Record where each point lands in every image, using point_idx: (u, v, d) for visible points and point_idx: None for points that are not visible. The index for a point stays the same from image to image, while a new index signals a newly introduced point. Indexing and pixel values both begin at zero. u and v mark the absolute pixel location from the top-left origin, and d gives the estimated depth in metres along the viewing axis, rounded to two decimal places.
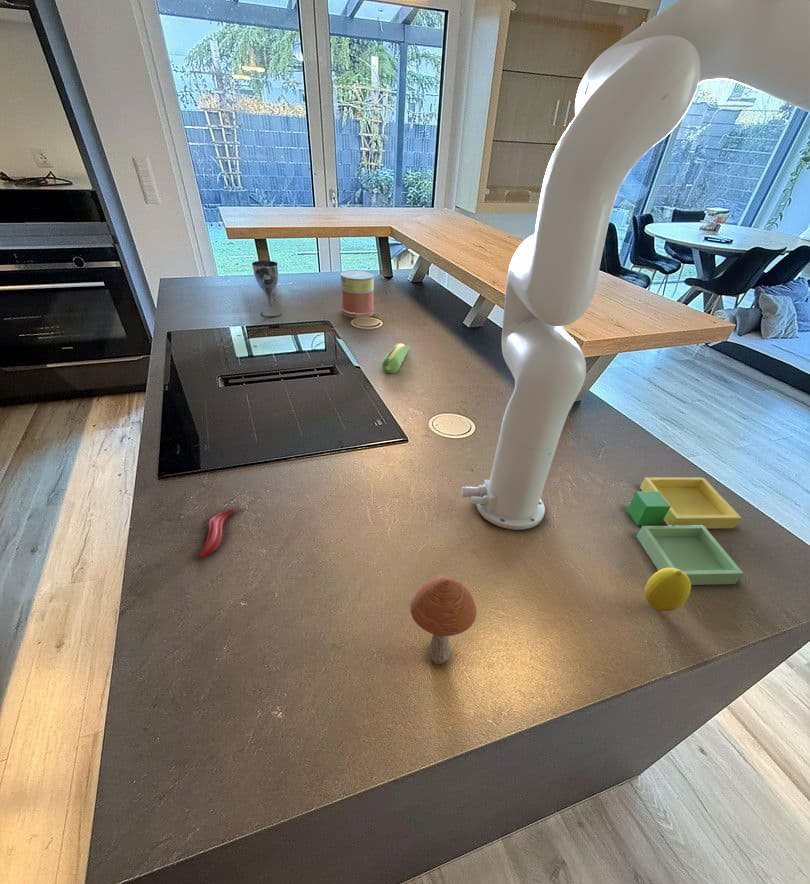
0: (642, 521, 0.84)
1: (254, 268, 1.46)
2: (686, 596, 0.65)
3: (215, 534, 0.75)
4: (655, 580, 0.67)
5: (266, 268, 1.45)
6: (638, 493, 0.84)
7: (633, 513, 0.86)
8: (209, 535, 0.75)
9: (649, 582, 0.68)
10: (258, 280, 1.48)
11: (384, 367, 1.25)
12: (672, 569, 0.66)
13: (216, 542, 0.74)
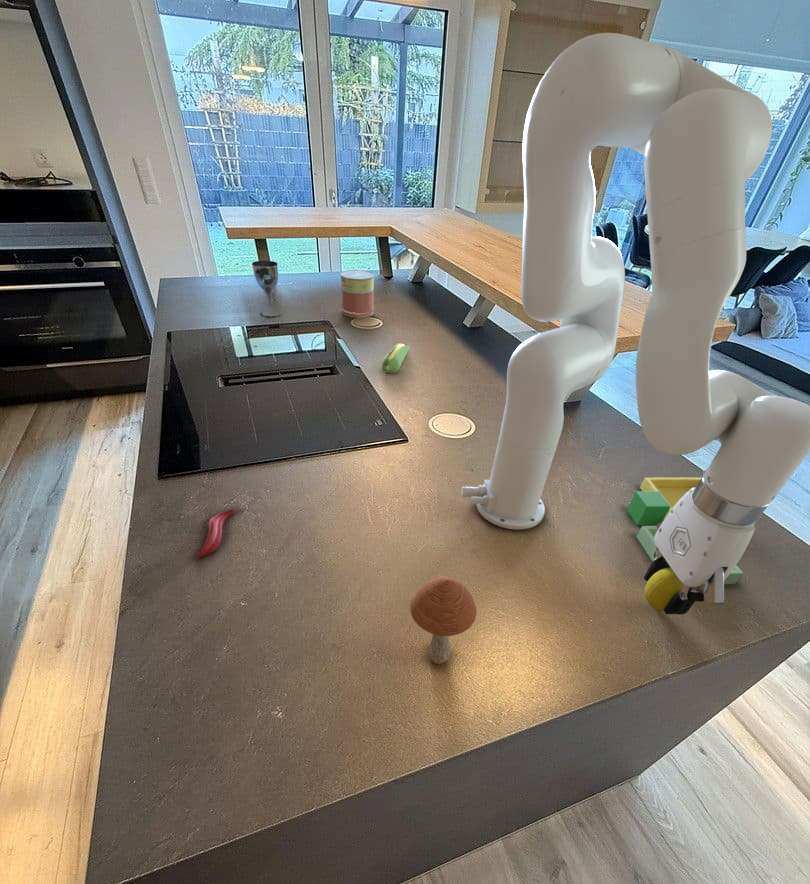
0: (642, 521, 0.84)
1: (254, 268, 1.46)
2: None
3: (215, 534, 0.75)
4: (655, 580, 0.67)
5: (266, 268, 1.45)
6: (638, 493, 0.84)
7: (633, 513, 0.86)
8: (209, 535, 0.75)
9: (649, 582, 0.68)
10: (258, 280, 1.48)
11: (384, 367, 1.25)
12: None
13: (216, 542, 0.74)
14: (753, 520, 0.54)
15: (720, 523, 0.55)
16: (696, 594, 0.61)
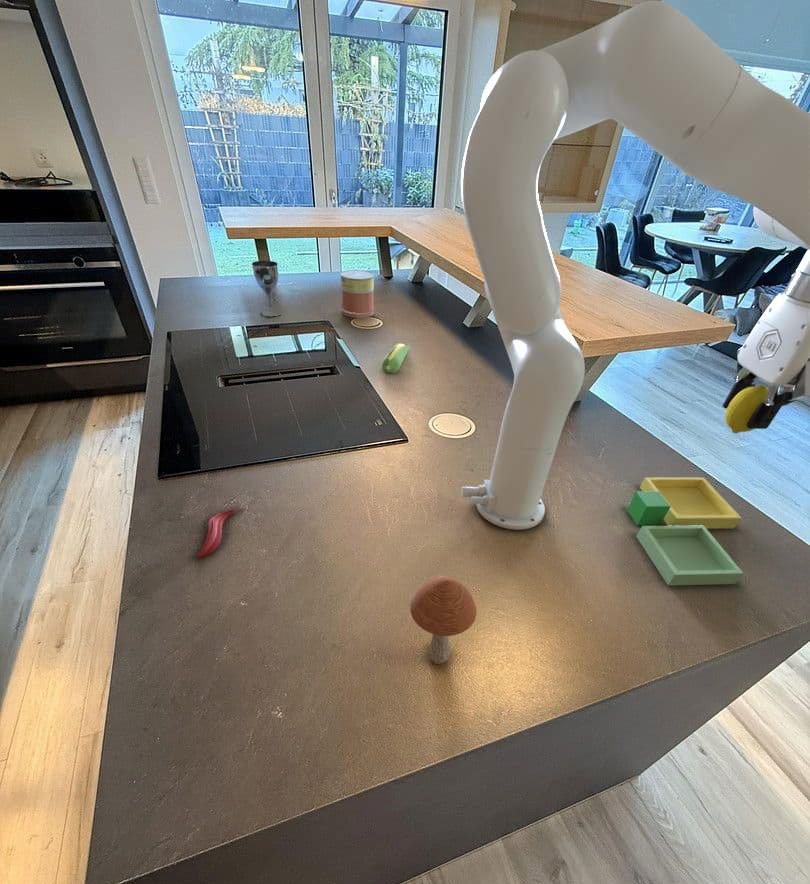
0: (642, 521, 0.84)
1: (254, 268, 1.46)
2: None
3: (215, 534, 0.75)
4: (738, 397, 0.70)
5: (266, 268, 1.45)
6: (638, 493, 0.84)
7: (633, 513, 0.86)
8: (209, 535, 0.75)
9: (731, 403, 0.72)
10: (258, 280, 1.48)
11: (384, 367, 1.25)
12: (755, 386, 0.70)
13: (215, 542, 0.74)
14: None
15: None
16: (784, 394, 0.64)
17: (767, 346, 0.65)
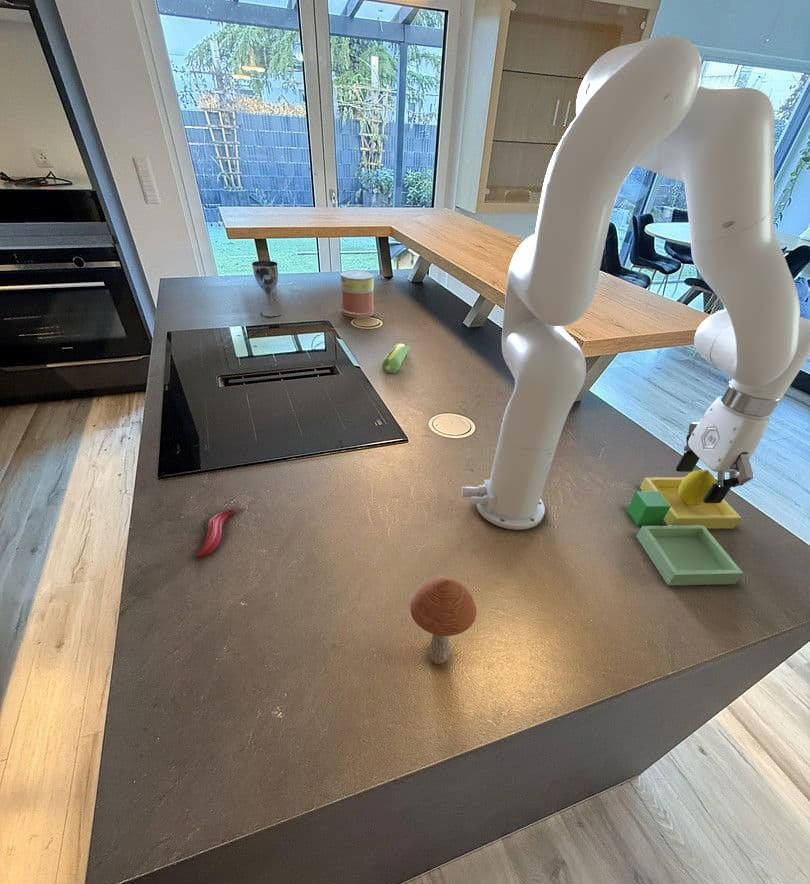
0: (642, 521, 0.84)
1: (254, 268, 1.46)
2: None
3: (214, 534, 0.75)
4: (687, 479, 0.85)
5: (266, 268, 1.45)
6: (638, 493, 0.84)
7: (633, 513, 0.86)
8: (208, 535, 0.75)
9: (682, 482, 0.87)
10: (258, 280, 1.48)
11: (384, 367, 1.25)
12: (701, 470, 0.85)
13: (215, 542, 0.74)
14: (768, 412, 0.72)
15: (743, 415, 0.73)
16: (731, 479, 0.77)
17: (709, 439, 0.79)
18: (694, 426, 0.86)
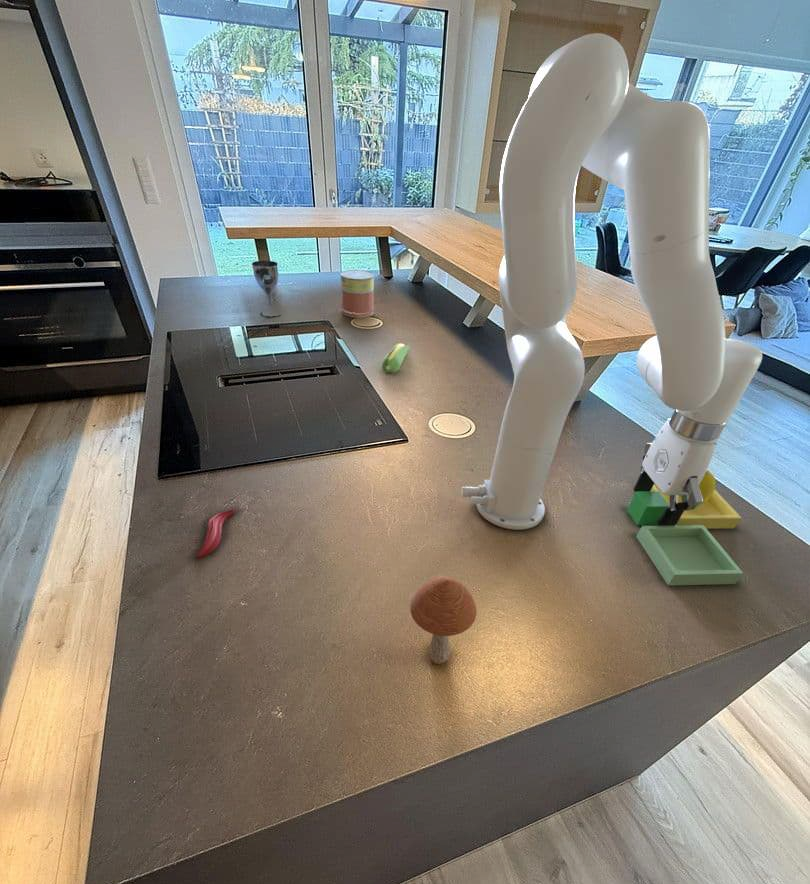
0: (642, 521, 0.84)
1: (254, 268, 1.46)
2: (712, 490, 0.84)
3: (214, 534, 0.75)
4: None
5: (266, 268, 1.45)
6: (638, 493, 0.84)
7: (633, 513, 0.86)
8: (208, 535, 0.75)
9: None
10: (258, 280, 1.48)
11: (384, 367, 1.25)
12: None
13: (215, 542, 0.74)
14: (714, 436, 0.71)
15: (689, 440, 0.72)
16: (682, 503, 0.75)
17: (660, 462, 0.78)
18: (649, 447, 0.84)
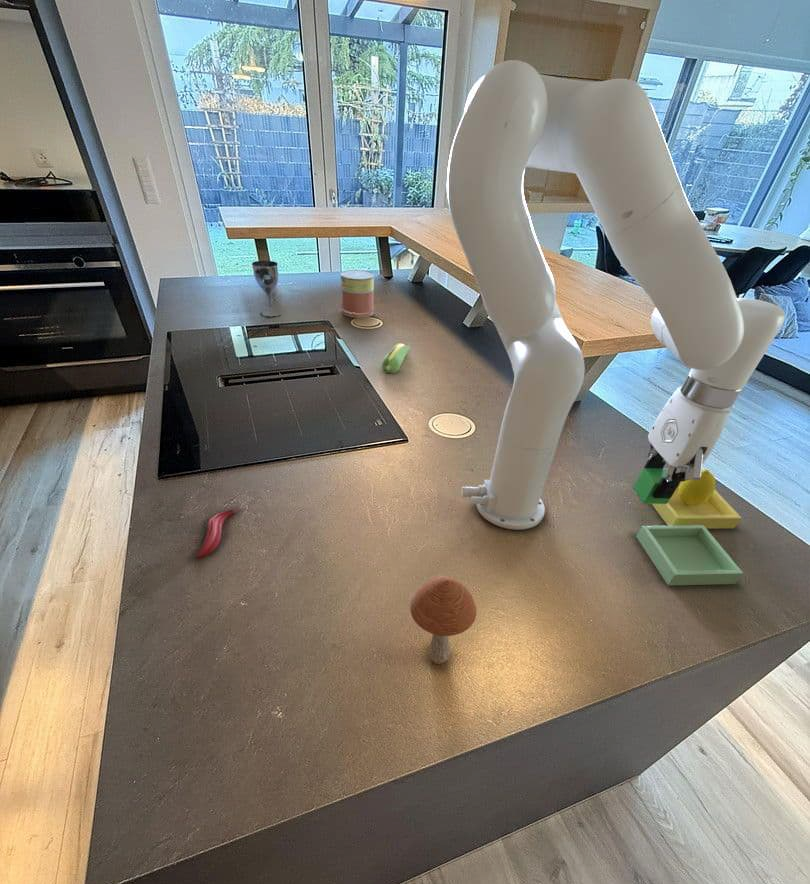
0: (649, 499, 0.81)
1: (254, 268, 1.46)
2: (712, 490, 0.84)
3: (214, 534, 0.75)
4: None
5: (266, 268, 1.45)
6: (646, 469, 0.81)
7: (640, 490, 0.82)
8: (208, 535, 0.75)
9: (682, 482, 0.87)
10: (258, 280, 1.48)
11: (384, 367, 1.25)
12: (701, 470, 0.85)
13: (215, 542, 0.74)
14: (728, 404, 0.67)
15: (702, 407, 0.68)
16: (679, 473, 0.74)
17: (668, 432, 0.74)
18: None
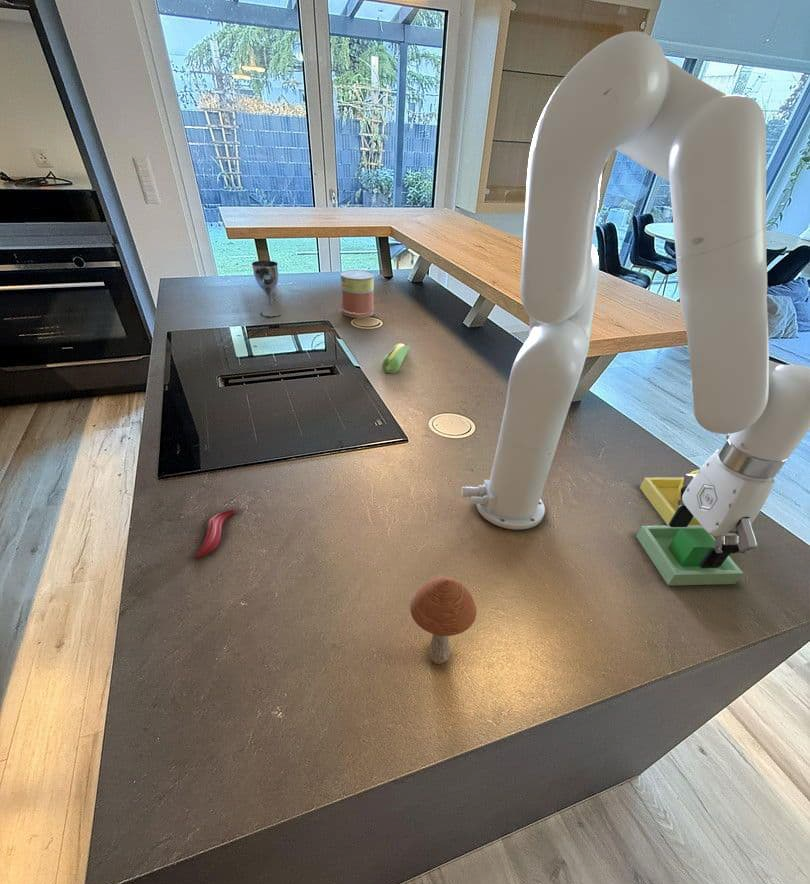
0: (687, 562, 0.76)
1: (254, 268, 1.46)
2: None
3: (214, 534, 0.75)
4: None
5: (266, 268, 1.45)
6: (682, 530, 0.76)
7: (676, 552, 0.77)
8: (208, 535, 0.75)
9: (682, 482, 0.87)
10: (258, 280, 1.48)
11: (384, 367, 1.25)
12: None
13: (214, 542, 0.74)
14: (773, 474, 0.62)
15: (744, 477, 0.63)
16: (731, 546, 0.67)
17: (705, 498, 0.70)
18: (689, 478, 0.76)
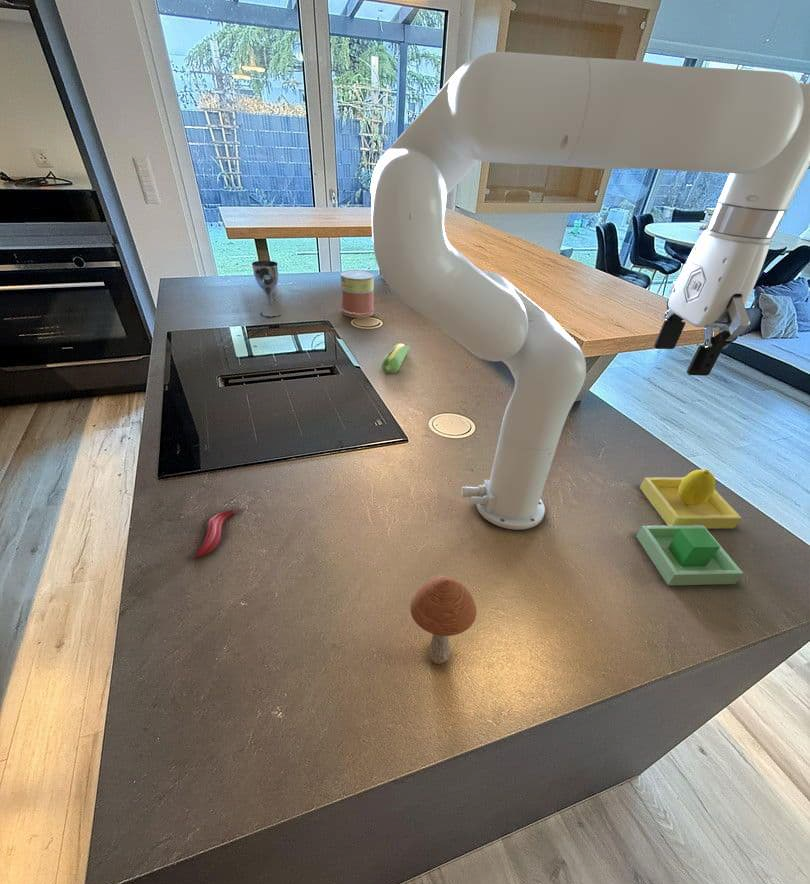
0: (687, 562, 0.76)
1: (254, 268, 1.46)
2: (712, 490, 0.84)
3: (213, 534, 0.75)
4: (687, 479, 0.85)
5: (266, 268, 1.45)
6: (682, 530, 0.76)
7: (676, 552, 0.77)
8: (207, 535, 0.75)
9: (682, 482, 0.87)
10: (258, 280, 1.48)
11: (384, 367, 1.25)
12: (701, 470, 0.85)
13: (214, 542, 0.74)
14: (768, 232, 0.55)
15: (736, 239, 0.56)
16: (721, 333, 0.60)
17: (693, 287, 0.62)
18: None
